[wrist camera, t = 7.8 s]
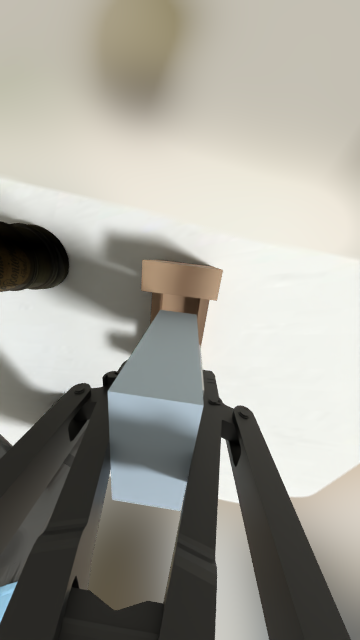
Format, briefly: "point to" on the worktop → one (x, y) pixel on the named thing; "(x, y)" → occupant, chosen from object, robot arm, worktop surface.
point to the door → (156, 414)
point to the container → (30, 258)
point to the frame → (181, 288)
